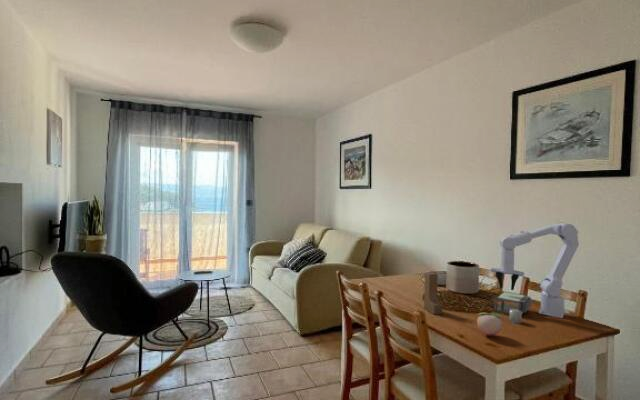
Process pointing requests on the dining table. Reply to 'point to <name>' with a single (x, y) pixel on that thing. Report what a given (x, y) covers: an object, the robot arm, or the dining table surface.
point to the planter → (462, 277)
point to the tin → (441, 277)
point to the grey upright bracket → (431, 294)
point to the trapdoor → (524, 299)
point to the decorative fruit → (489, 323)
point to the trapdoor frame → (506, 305)
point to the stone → (515, 316)
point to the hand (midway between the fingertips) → (506, 288)
